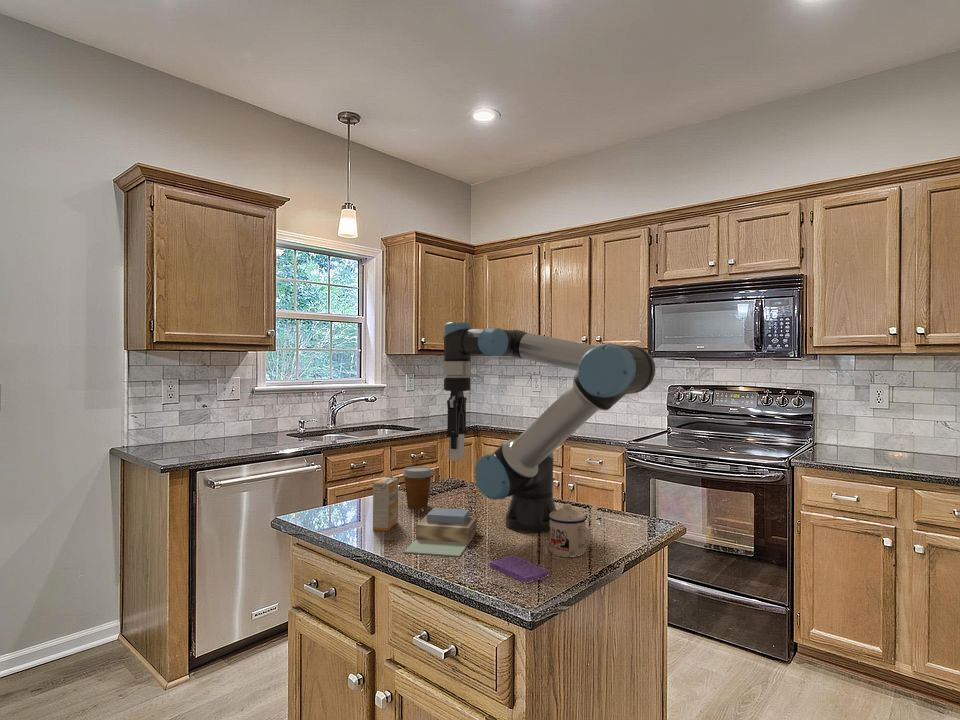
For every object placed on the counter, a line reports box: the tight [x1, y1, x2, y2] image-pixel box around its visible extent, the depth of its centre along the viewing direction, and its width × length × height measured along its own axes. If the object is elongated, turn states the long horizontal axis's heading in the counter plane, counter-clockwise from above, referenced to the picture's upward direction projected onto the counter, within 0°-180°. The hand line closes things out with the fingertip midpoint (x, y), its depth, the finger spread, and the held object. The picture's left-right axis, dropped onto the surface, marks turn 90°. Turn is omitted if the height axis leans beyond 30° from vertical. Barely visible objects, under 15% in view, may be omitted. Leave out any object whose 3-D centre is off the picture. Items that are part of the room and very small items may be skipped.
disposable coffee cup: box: [402, 465, 433, 510], centre depth 184 cm, size 10×10×12 cm
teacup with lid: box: [549, 503, 593, 558], centre depth 140 cm, size 12×9×12 cm
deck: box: [415, 514, 478, 544], centre depth 153 cm, size 14×10×4 cm
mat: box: [403, 538, 470, 558], centre depth 143 cm, size 14×10×1 cm
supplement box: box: [372, 477, 399, 532], centre depth 162 cm, size 8×5×13 cm, turn 168°
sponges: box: [489, 554, 550, 584], centre depth 128 cm, size 7×13×2 cm, turn 37°
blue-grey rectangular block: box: [426, 507, 471, 524], centre depth 154 cm, size 10×7×2 cm
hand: (456, 458), depth 164 cm, fingers open, 5 cm apart
